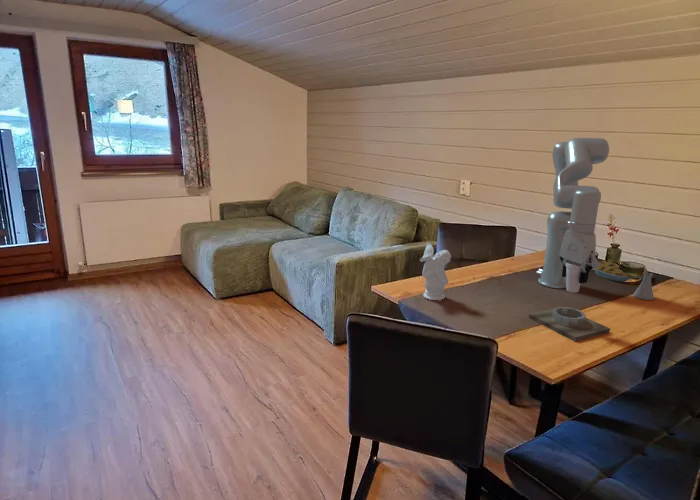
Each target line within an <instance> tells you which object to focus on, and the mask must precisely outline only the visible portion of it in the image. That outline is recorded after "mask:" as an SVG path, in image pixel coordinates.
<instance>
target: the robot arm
mask: <svg viewBox="0 0 700 500" xmlns="http://www.w3.org/2000/svg"><path fill="white" fill-rule="evenodd" d="M609 153H610V145H609V142H608V141H607V140H606V139H605V138H602V137H575V138H572V139H570V140H568V141H561V142H557V143H555V145H554V146H553V148H552V156H551V157H552V161H553V162H552V163H553V165H554V170H555V179H554V182H553V187H552V188H553V190H552V191H553V205H554V207H557V208H560V209H569V210H571V211H564V210H563V211H554V212H550V213H549V214H548V216H547V219H546V227H547V228H546V229H547V230H546V231H547V236H546V237H547V238H546V243H545V244H546V245H545V254H544V261H543V268H539V269H538V270H537V271H536V274H538V275H540V277H538V279H537V282H538V284H539V285H542V286H543V287H548V288H552V289H567V288H566V265H565V264H566V262H567V261H572V262H575V263H578V264H581V267H582V272H580V278H579V283H581V284H580V285H582V284H587V282H588V280H589V276H590V275H589V274H590V272H592V271H593V270H594V268H595V267H597V266H598V265H599V262H598V261H599V260H598V259H597V258H596V251H597V248H596V247H597V245H596V244H597V234H596V233H595V231H596V229H595V228H596V222H597V217H598V211H599V204H600V203H601V199H602V193H601V191H600V189H599V188H598V187H597V186H592V185H591V186H590V185H579V181H581V180H584V179H586V178H587V177H589V176H590V175H591V174H592V172H593V168H594V165H598V164H601V163H604V162H605V161H606V160H607V159H608V156H609ZM585 264H586V266H585Z"/></svg>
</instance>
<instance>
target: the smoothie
mask: <svg viewBox="0 0 700 500" xmlns="http://www.w3.org/2000/svg"><path fill="white" fill-rule="evenodd" d="M565 265H566V288H565V289H566V291H567V292H570V293H578V292H580V287H581V285H582V284H581V283H579V278H580V272H582V267H581V264H578V263H575V262H572V261H567V262H566V264H565ZM585 266H586V264H585Z"/></svg>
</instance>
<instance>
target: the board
mask: <svg viewBox="0 0 700 500" xmlns="http://www.w3.org/2000/svg"><path fill="white" fill-rule="evenodd" d="M558 307H559V306H558ZM558 307H556V308H558ZM554 308H555V307H554ZM554 308H549V309H544V310H540V311H535V312H531V313H528V317H529V319H530V318H531V319H530V320H533V321H535V322H536V323H538V324H540V325H542V326H544V327H546V328H548V329H549V330H552V331H553V332H555V333H557V334H559V335H561V336H563V337H565V338H567V339H569V340H571V341H573V342H579V341H583V340H587V339H590V338H594V337H598V336H601V335H605V334H608V333H610V330H611V328H609V327H608V326H605V325H603V324H601V323H599V322H597V321H595V320H592V319H590V318H588V317H585V323H584V325H583V326H581V327H567V326H563V325H560V324H558V323H556V322H554V321H553V319H552V314H553V310H554ZM565 317H569V316H565ZM570 318H573V317H570Z"/></svg>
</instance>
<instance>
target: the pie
mask: <svg viewBox="0 0 700 500" xmlns="http://www.w3.org/2000/svg"><path fill="white" fill-rule="evenodd" d="M597 261H598V262H599V265H598V266H597V267H595V268H594V269H593V270H594V273H595V274H596V275H597V276H599V277H600V278H604V279H606V280H609V281H613V282H618V281H619V283H620V282H621V283H626V282H625V281H627V280H628V279H631V278H641V279H642V280H643V278H644V273H649V271H648V270H647V268H646V267H644V268H645V270H644V272H643V274H642V276H640V277H633V276H631V274H625V273H624V272H623V271H622V270H620V269H619V265H618V264H620V263H622V262H625V261H621V260H619V261H620V262H619V261H618V264H616V263H612V262H608V263H607V262H606V261H607V260H606V259H604V260H601V261H600V260H597ZM642 280H641V281H642Z"/></svg>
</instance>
